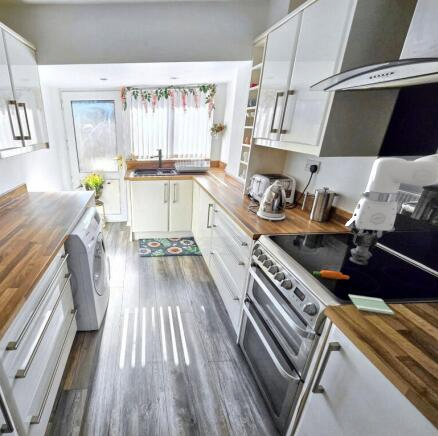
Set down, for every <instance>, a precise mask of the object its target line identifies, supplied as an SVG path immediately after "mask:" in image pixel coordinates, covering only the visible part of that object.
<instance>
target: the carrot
mask: <svg viewBox="0 0 438 436" xmlns="http://www.w3.org/2000/svg"><path fill="white" fill-rule="evenodd" d="M312 273H313V275H315V276H316V275H317V276H321V277H322V278H324V279H332V280H350V276H349V275H347V274H346V275H345V274H343V272H340V271H335V270H334V271H333V270H325V269H323V270H321V271H315V270H313V271H312Z"/></svg>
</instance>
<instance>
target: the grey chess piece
mask: <svg viewBox="0 0 438 436" xmlns="http://www.w3.org/2000/svg"><path fill="white" fill-rule="evenodd" d="M361 236H362V237H363V238H362V241H361V244H360V246H356V248H351V249H350V253H351V256H350V257H349V258H348V260H349V261H350V262H352V263H354V264H357V265H362V266H365V265H368V264H369V262H368V260H369V259H370V258H371V257H372V256H373V254H372V253H371V252H370V251H369V248H370V247H371V246H370V245H371V244H370V242H371V239H372V235H371V233H370V232H369V230H366V232H363V233H362V235H361Z"/></svg>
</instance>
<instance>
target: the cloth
mask: <svg viewBox="0 0 438 436" xmlns="http://www.w3.org/2000/svg"><path fill="white" fill-rule="evenodd" d="M348 297H349V299H350V301H352V303H353V305H354V306H355V307H356V309H357V310H358V311H363V312H370V313H376V314H382V315H390V316H395V315H396V314H395V312H394V311H393V310H392V309H391V307H389V306H388V305H387V303H386V302H385V301H384V300H383V299H382V298H379V297H370V296H365V295H356V294H350V293H348Z"/></svg>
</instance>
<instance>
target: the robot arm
mask: <svg viewBox="0 0 438 436" xmlns="http://www.w3.org/2000/svg"><path fill="white" fill-rule="evenodd" d="M367 182H368V183H367V185H366V188H365V190H364V191H360V193H359V196H360V197H361V198H360V200H359V201H358V203H357V205H356V207H355V209H354V211H353V214H352V217H351V219H350V220H349V221H347V222H346V223H345V227H346V228H348V229H350V230H351V231H352V232H353V233H354V236H353V239H352V242H353V244H354V246H356V247H357V246H360V244H361V241H362V238H363V237H362V236H361V235H362V234H363V233H364V230H367V231H369V230H370V231H371V230H372V233H370V235H372V239H371V242H370V244H371V245H370V246H369V247H371V248H375V247H376V245H377V244H378V241H379V238H381V237H383V236H384V235H386V234H387V233H390V232H394V231H395V230H396V228H395V225H394V224H395V221H396V217H397V212H398V201H396V197H397V195H398V192H399V189H400V186H401V184H404V185H408V186H414V187H428V186H432V185H435V184H437V183H438V153H436V154H431V155H427V156H423V157H419V158H417V159H415V160H407V159H405V158H400V157H378V158H377V159H376V160H374V163H373V165H372V169H371V172H370V175H369V178H368V181H367Z"/></svg>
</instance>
